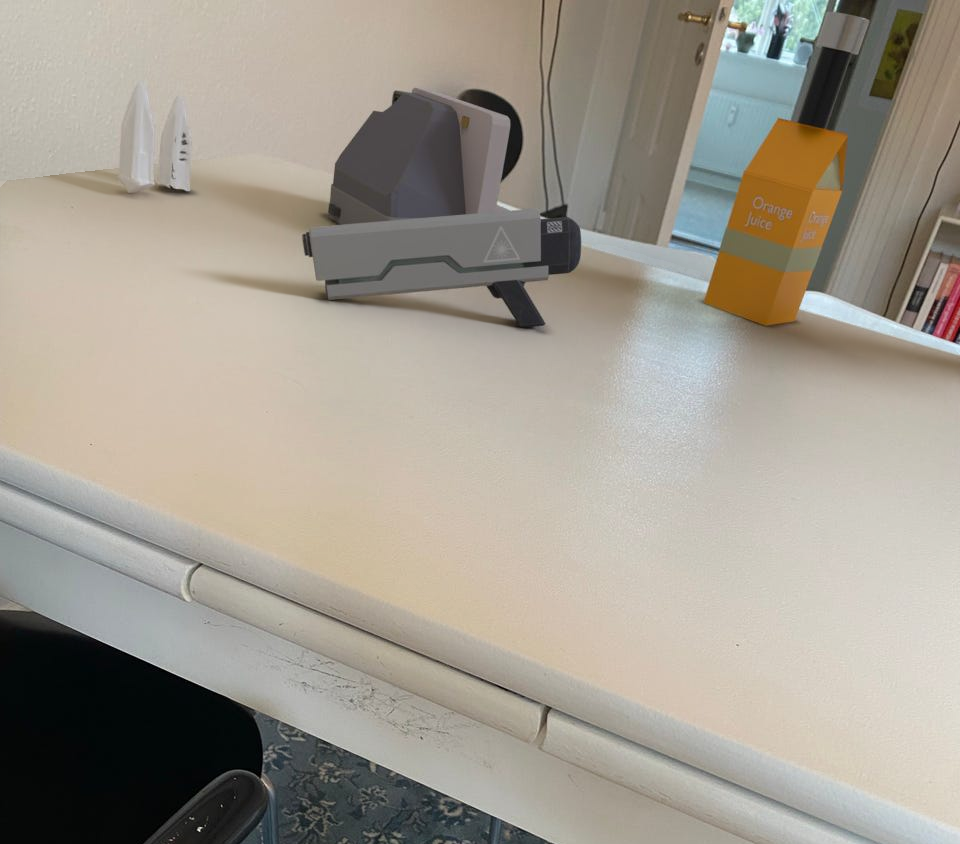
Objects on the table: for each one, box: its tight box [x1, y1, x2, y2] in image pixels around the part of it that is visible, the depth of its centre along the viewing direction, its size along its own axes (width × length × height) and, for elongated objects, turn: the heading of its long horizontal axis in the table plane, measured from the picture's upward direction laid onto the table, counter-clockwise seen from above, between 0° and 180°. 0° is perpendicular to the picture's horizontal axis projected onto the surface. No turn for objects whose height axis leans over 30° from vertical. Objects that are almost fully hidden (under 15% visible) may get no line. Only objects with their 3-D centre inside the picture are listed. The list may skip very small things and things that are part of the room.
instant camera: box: [327, 87, 511, 225], centre depth 107 cm, size 21×21×15 cm
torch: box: [796, 11, 870, 129], centre depth 96 cm, size 4×4×10 cm
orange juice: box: [702, 117, 849, 327], centre depth 104 cm, size 8×9×20 cm
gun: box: [301, 208, 582, 328], centre depth 83 cm, size 2×25×10 cm, turn 98°
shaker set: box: [116, 81, 193, 194], centre depth 103 cm, size 12×4×11 cm, turn 158°
